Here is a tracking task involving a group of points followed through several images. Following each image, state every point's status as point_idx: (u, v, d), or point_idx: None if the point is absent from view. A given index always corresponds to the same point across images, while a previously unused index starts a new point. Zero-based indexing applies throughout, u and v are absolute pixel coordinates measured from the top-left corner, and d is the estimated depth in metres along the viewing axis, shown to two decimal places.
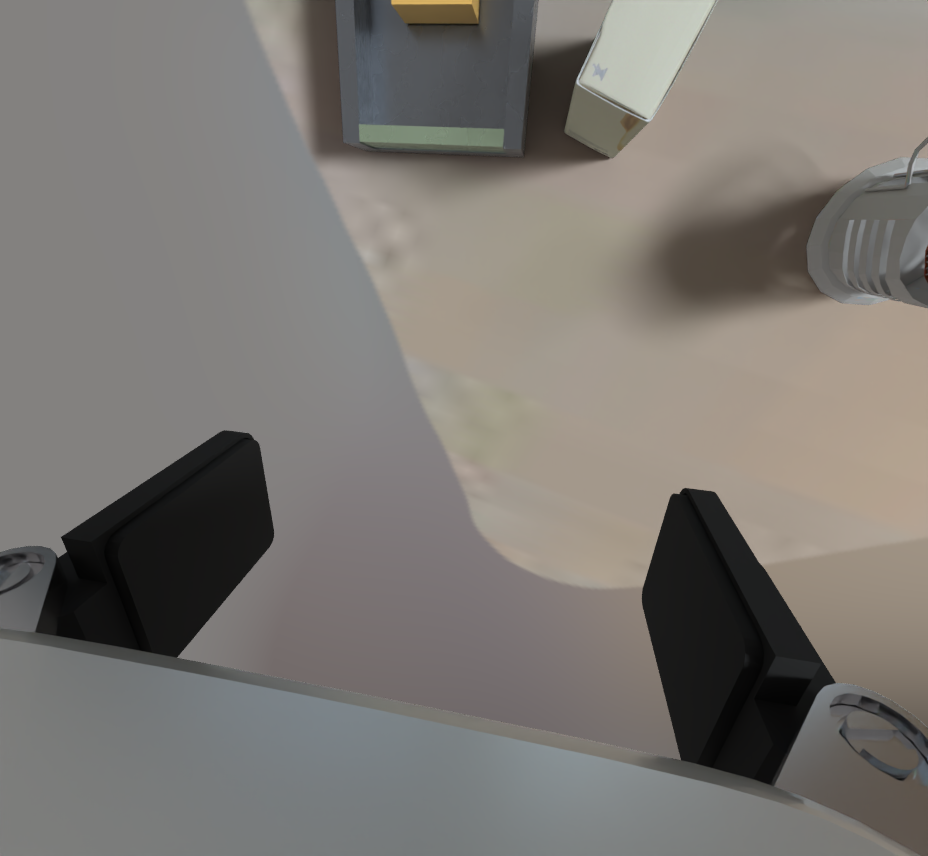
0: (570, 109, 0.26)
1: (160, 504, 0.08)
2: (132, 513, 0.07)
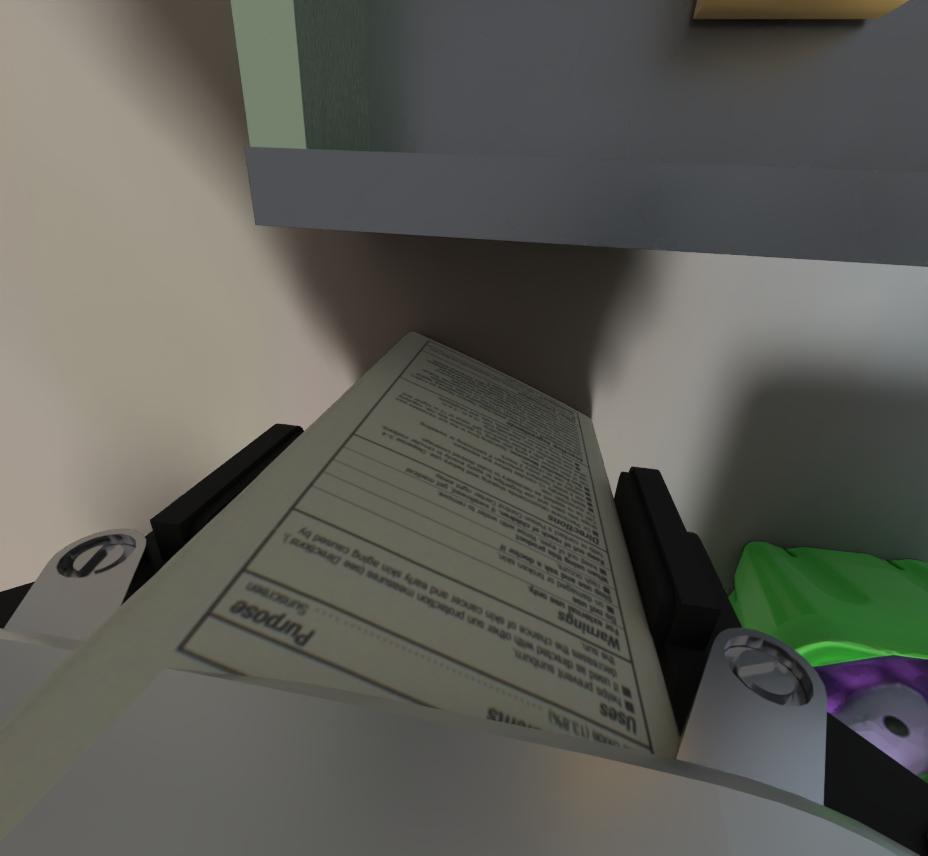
0: None
1: (232, 491, 0.08)
2: (210, 498, 0.08)
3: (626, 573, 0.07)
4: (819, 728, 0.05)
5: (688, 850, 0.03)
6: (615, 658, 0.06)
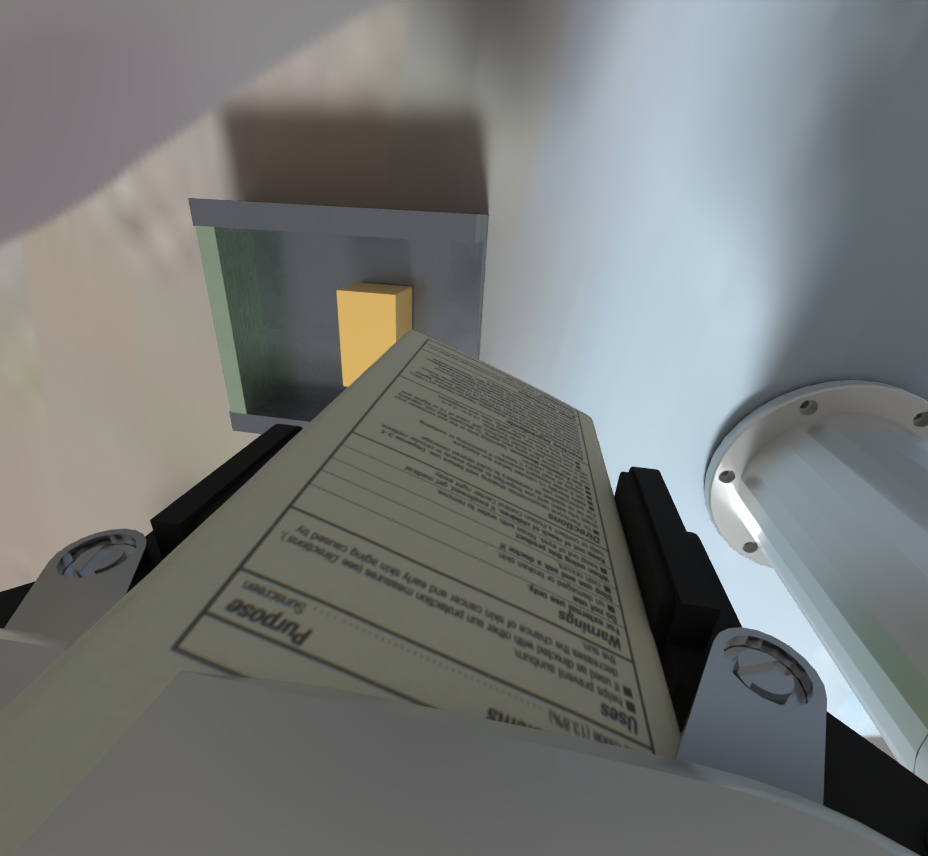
0: (288, 442, 0.07)
1: (232, 491, 0.08)
2: (210, 498, 0.08)
3: (627, 572, 0.07)
4: (819, 728, 0.05)
5: (688, 850, 0.03)
6: (616, 657, 0.06)
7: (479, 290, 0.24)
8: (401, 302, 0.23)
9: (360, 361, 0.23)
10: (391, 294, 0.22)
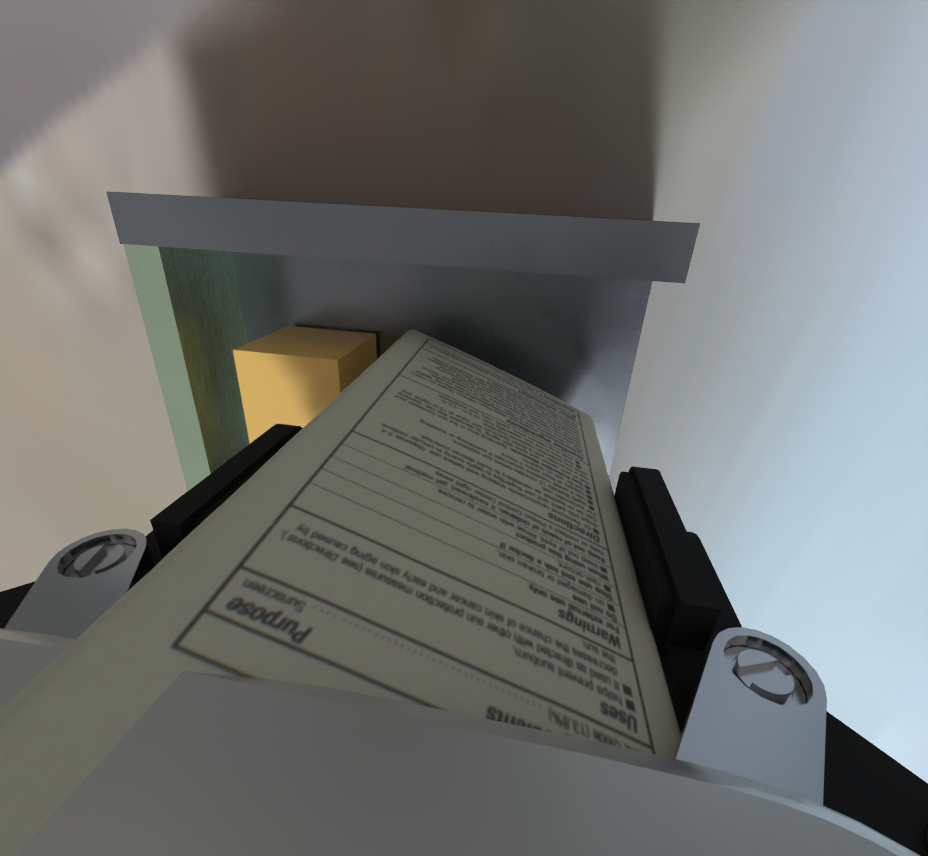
0: (289, 441, 0.07)
1: (233, 491, 0.08)
2: (210, 499, 0.08)
3: (627, 571, 0.07)
4: (818, 728, 0.05)
5: (688, 850, 0.03)
6: (616, 656, 0.06)
7: (634, 354, 0.14)
8: (352, 367, 0.13)
9: None
10: (331, 358, 0.12)
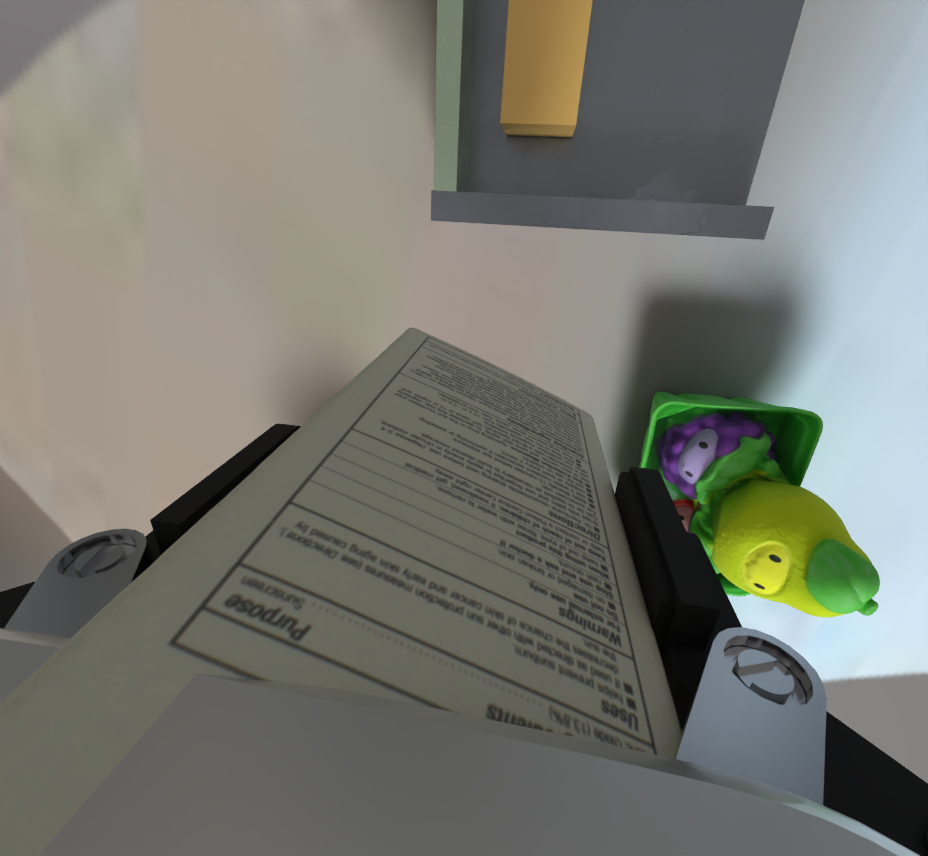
0: (288, 438, 0.07)
1: None
2: (210, 499, 0.08)
3: (628, 569, 0.07)
4: (819, 727, 0.05)
5: (689, 850, 0.03)
6: (617, 654, 0.06)
7: None
8: None
9: (531, 77, 0.17)
10: None
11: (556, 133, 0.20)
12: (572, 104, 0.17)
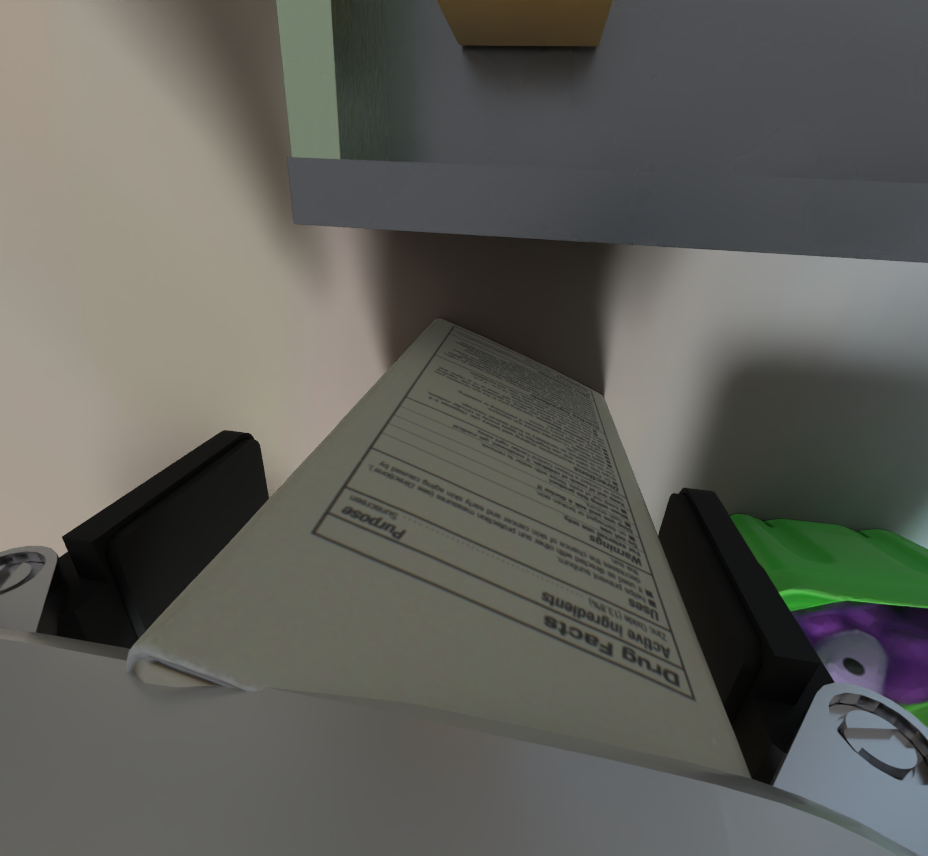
0: (357, 403, 0.08)
1: (161, 504, 0.08)
2: (132, 512, 0.07)
3: (643, 514, 0.09)
4: None
5: (688, 851, 0.03)
6: (638, 571, 0.07)
7: None
8: None
9: None
10: None
11: (565, 29, 0.09)
12: None
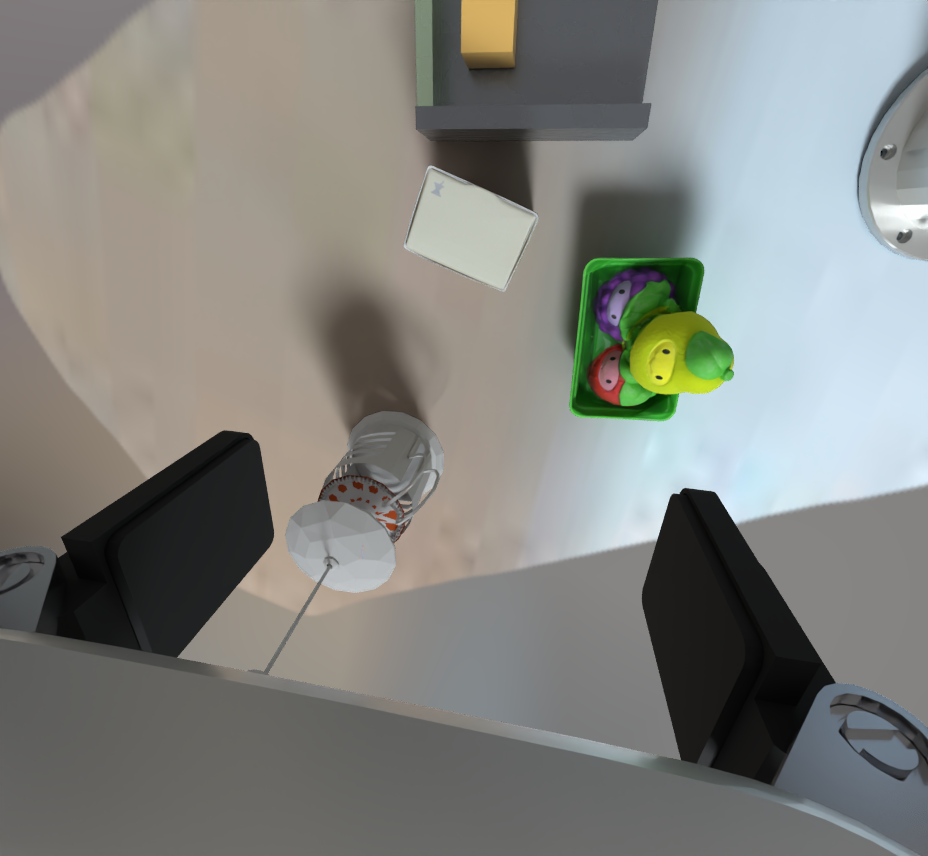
0: None
1: (160, 504, 0.08)
2: (132, 513, 0.07)
3: None
4: None
5: (688, 850, 0.03)
6: None
7: None
8: None
9: (480, 18, 0.25)
10: None
11: (502, 63, 0.28)
12: (509, 37, 0.25)
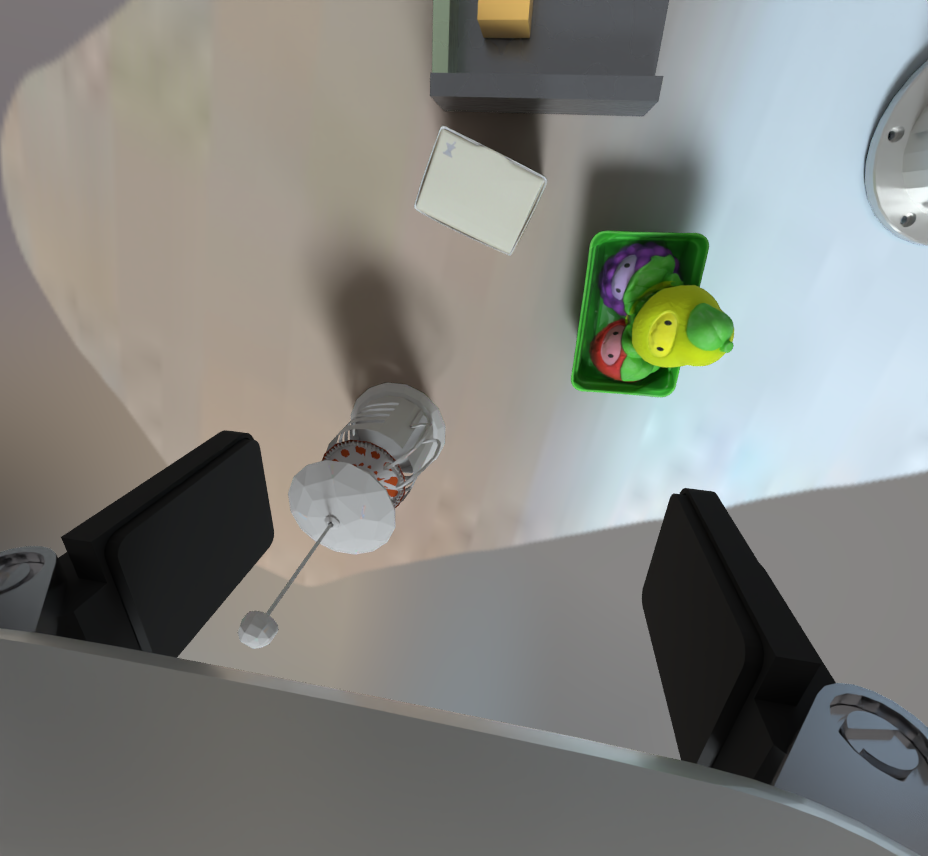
0: None
1: (160, 504, 0.08)
2: (132, 512, 0.07)
3: None
4: None
5: (688, 850, 0.03)
6: None
7: None
8: None
9: None
10: None
11: (517, 32, 0.28)
12: (525, 5, 0.26)
